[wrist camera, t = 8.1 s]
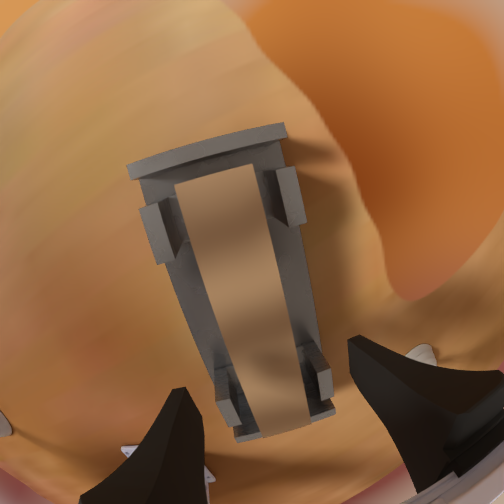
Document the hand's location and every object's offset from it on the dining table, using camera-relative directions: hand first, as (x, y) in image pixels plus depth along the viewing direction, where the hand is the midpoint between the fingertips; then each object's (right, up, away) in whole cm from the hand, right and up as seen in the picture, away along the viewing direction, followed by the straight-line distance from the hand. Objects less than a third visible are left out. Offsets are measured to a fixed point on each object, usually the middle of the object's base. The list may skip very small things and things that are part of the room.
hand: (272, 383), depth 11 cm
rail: (-1, +2, +8) cm, 8 cm away
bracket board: (-1, +2, +9) cm, 9 cm away
